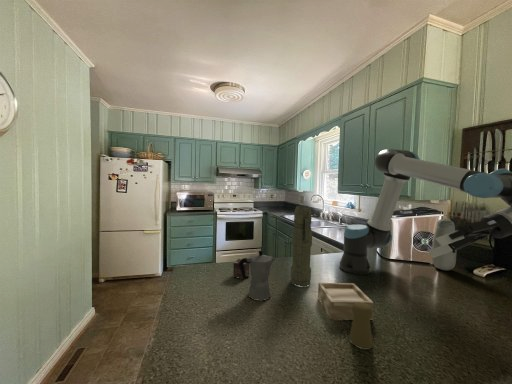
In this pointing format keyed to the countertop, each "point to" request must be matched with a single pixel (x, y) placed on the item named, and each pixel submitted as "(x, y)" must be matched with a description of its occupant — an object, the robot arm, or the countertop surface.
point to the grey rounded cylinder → (444, 260)
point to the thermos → (301, 246)
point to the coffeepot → (258, 275)
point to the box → (237, 269)
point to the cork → (361, 325)
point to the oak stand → (341, 299)
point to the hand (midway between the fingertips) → (434, 248)
